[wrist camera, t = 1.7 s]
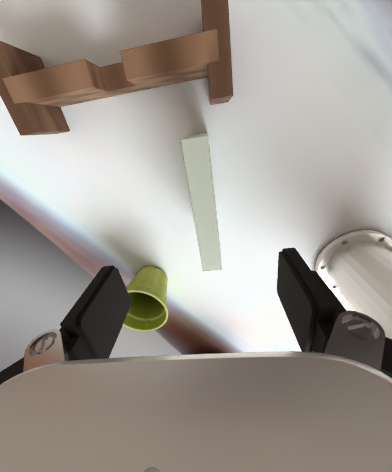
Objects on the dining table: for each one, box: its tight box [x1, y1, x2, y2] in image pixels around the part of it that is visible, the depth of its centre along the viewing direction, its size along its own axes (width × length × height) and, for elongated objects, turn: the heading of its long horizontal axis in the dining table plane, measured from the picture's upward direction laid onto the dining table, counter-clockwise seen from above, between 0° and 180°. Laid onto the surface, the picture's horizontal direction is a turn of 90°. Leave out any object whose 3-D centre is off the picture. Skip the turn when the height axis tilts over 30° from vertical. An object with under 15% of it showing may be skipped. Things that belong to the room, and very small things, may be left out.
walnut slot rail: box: [0, 0, 233, 135], centre depth 22 cm, size 24×8×6 cm, turn 99°
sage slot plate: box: [181, 132, 222, 271], centre depth 25 cm, size 2×14×12 cm, turn 9°
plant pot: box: [123, 266, 168, 331], centre depth 36 cm, size 9×9×9 cm
